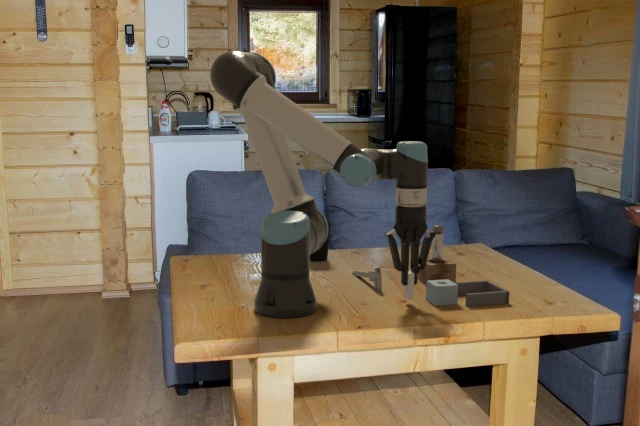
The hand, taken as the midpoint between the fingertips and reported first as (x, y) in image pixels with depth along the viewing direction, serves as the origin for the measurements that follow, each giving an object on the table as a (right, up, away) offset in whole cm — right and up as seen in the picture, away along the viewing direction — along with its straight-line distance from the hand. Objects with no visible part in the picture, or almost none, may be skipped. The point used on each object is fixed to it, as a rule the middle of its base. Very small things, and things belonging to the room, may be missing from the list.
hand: (408, 297), depth 192 cm
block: (+9, -1, +3) cm, 9 cm away
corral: (+18, -1, +5) cm, 19 cm away
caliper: (-9, +2, +22) cm, 24 cm away
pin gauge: (+10, +3, +22) cm, 25 cm away
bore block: (+10, +2, +23) cm, 25 cm away
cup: (-23, +6, +48) cm, 54 cm away
